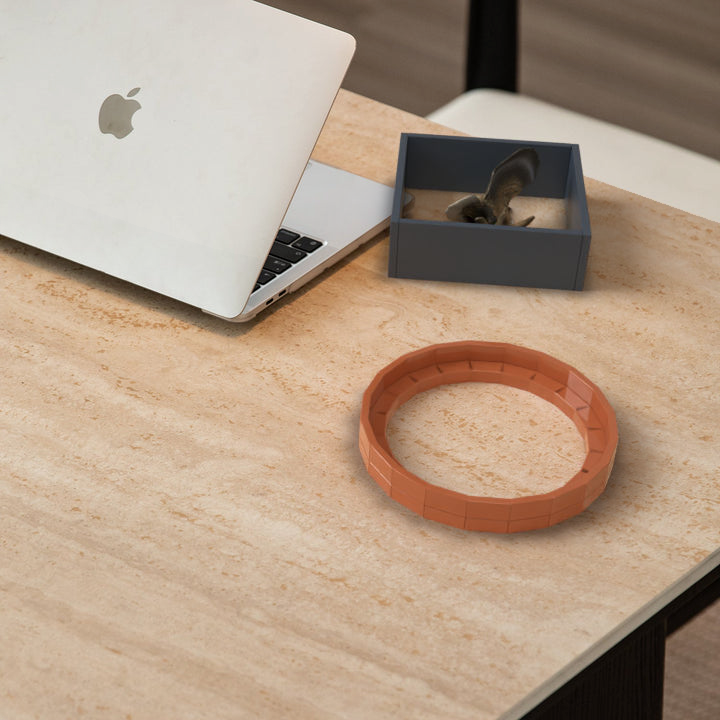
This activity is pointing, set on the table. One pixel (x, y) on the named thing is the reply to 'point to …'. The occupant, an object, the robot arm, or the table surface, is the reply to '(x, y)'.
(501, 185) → the eagle figurine
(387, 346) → the table surface
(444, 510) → the faceted orange ring
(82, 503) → the table surface
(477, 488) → the table surface
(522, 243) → the bin
